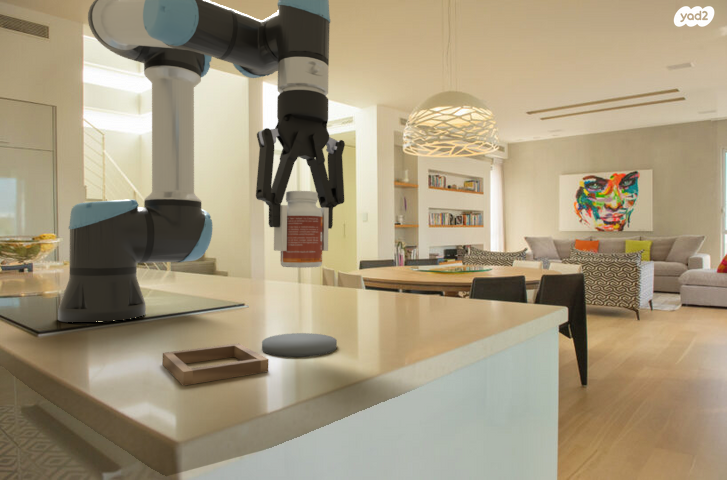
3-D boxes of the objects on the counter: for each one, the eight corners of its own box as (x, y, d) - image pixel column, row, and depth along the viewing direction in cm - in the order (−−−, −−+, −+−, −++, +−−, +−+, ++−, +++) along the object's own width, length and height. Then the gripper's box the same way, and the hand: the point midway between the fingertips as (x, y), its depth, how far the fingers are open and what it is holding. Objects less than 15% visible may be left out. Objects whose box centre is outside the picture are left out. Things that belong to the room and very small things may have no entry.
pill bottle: (329, 267, 68) (330, 191, 68) (291, 268, 65) (291, 189, 65) (310, 265, 74) (311, 194, 74) (273, 266, 70) (274, 192, 70)
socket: (162, 364, 59) (162, 352, 59) (238, 354, 65) (238, 343, 65) (183, 385, 51) (183, 372, 51) (268, 371, 57) (268, 359, 57)
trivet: (250, 344, 71) (250, 338, 71) (313, 336, 77) (313, 330, 77) (282, 361, 62) (282, 353, 62) (350, 350, 68) (350, 343, 68)
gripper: (251, 74, 61) (249, 251, 61) (370, 101, 72) (368, 250, 72) (231, 89, 67) (229, 250, 67) (343, 111, 78) (341, 249, 78)
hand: (301, 250), depth 69 cm, fingers closed on pill bottle, 6 cm apart
